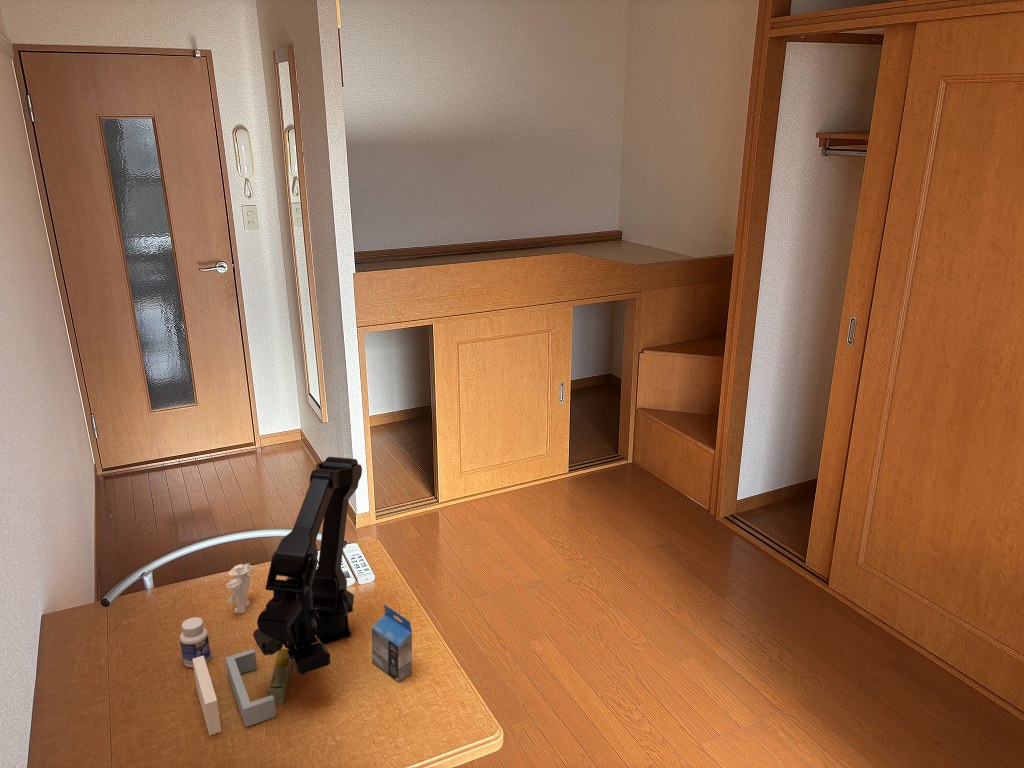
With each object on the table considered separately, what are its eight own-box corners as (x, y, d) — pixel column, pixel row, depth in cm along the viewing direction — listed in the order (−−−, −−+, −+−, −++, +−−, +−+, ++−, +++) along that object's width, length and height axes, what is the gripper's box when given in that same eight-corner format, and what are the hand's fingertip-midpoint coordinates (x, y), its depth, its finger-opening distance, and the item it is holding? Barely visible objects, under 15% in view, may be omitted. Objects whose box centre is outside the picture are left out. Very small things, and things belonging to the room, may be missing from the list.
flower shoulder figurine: (241, 620, 167) (236, 573, 163) (225, 618, 168) (219, 571, 164) (259, 597, 176) (254, 551, 172) (243, 595, 176) (238, 550, 172)
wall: (207, 685, 147) (203, 655, 145) (221, 731, 136) (217, 700, 134) (196, 688, 146) (192, 658, 144) (209, 735, 135) (205, 704, 133)
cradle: (255, 665, 153) (253, 648, 152) (275, 716, 139) (274, 698, 138) (227, 674, 150) (225, 657, 149) (245, 727, 137) (243, 709, 136)
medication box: (283, 705, 143) (282, 687, 142) (269, 706, 142) (267, 688, 141) (292, 663, 154) (291, 647, 153) (278, 664, 154) (277, 648, 152)
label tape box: (371, 662, 154) (368, 611, 151) (386, 653, 157) (384, 603, 153) (398, 683, 149) (396, 630, 145) (414, 673, 152) (412, 621, 148)
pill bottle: (201, 670, 151) (196, 633, 149) (177, 666, 152) (172, 629, 150) (216, 653, 156) (211, 617, 154) (193, 649, 157) (188, 613, 155)
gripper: (243, 593, 148) (251, 659, 153) (267, 645, 133) (274, 717, 138) (299, 578, 154) (305, 642, 159) (329, 626, 139) (333, 696, 143)
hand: (303, 673), depth 149 cm, fingers closed
